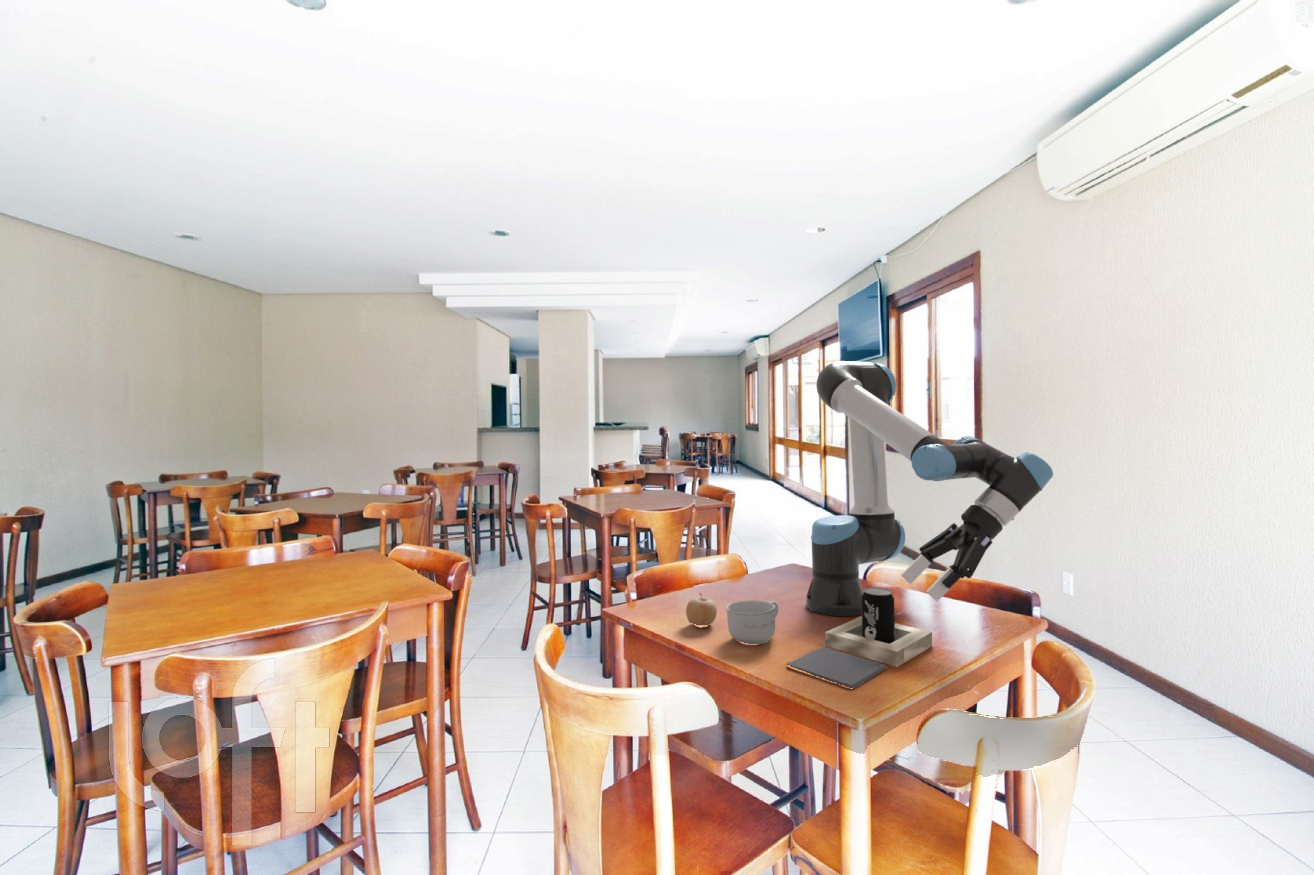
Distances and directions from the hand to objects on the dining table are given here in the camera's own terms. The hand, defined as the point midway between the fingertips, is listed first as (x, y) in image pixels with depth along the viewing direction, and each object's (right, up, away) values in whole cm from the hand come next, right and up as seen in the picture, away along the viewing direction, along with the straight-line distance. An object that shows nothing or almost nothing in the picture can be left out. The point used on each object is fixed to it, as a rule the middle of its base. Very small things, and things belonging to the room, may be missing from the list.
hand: (917, 587), depth 127 cm
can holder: (-8, -13, +2) cm, 15 cm away
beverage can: (-8, -13, +2) cm, 15 cm away
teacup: (-33, -14, +7) cm, 36 cm away
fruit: (-45, -14, +17) cm, 49 cm away
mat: (-20, -13, -10) cm, 26 cm away
